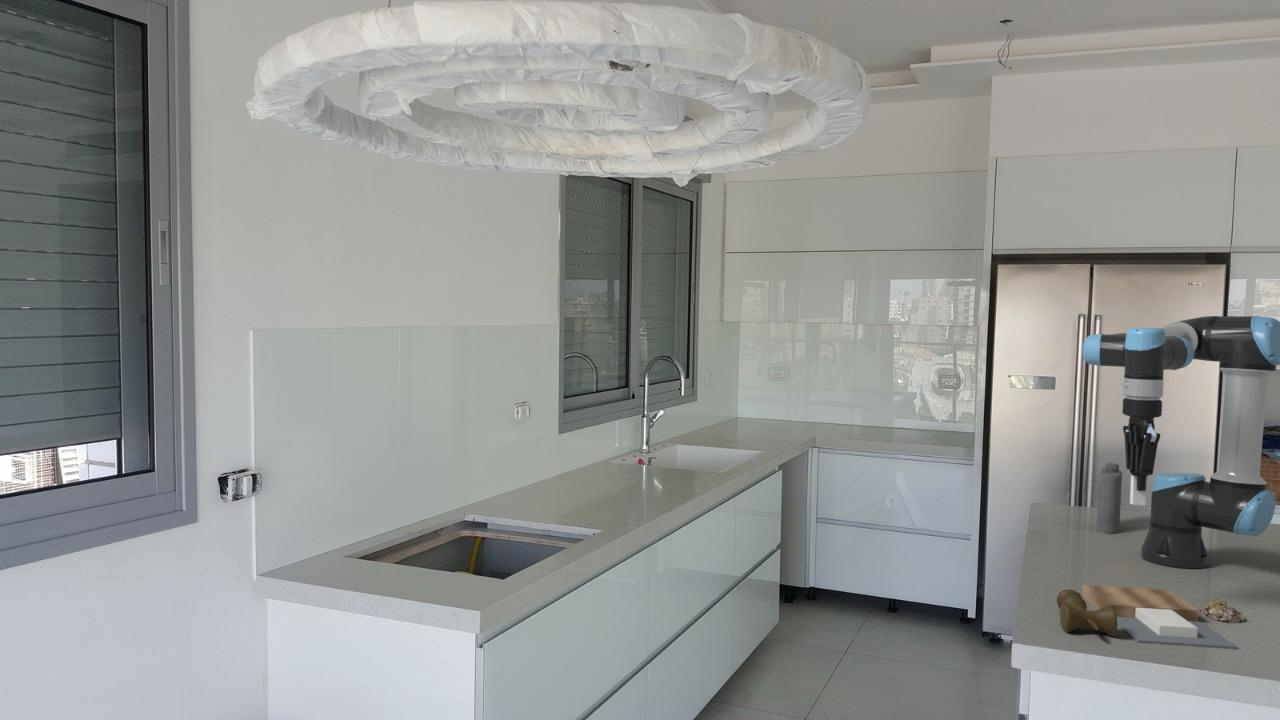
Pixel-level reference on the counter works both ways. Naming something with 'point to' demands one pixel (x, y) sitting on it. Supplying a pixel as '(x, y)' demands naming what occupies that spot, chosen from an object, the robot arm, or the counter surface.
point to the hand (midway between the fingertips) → (1137, 504)
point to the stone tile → (1166, 622)
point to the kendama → (1084, 614)
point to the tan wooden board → (1138, 600)
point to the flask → (1109, 499)
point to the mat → (1145, 634)
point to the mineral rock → (1222, 612)
